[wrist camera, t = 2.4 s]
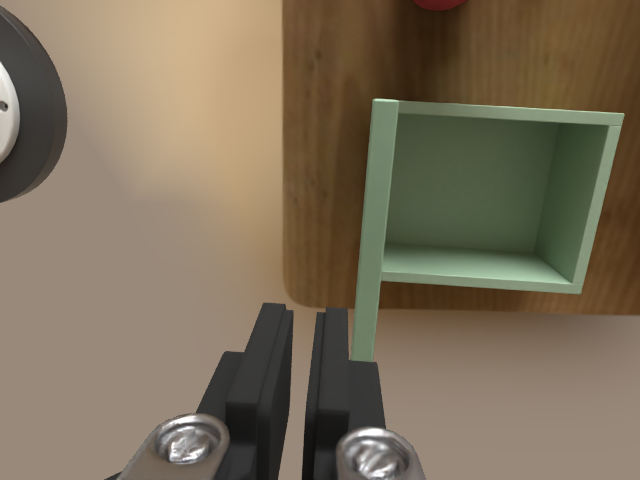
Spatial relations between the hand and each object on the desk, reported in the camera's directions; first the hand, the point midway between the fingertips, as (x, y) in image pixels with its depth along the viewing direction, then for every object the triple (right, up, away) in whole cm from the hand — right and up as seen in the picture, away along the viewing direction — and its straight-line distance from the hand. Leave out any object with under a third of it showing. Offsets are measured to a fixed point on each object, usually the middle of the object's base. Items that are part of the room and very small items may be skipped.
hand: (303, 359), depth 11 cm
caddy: (+12, +8, +27) cm, 31 cm away
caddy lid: (+3, +4, +12) cm, 13 cm away
